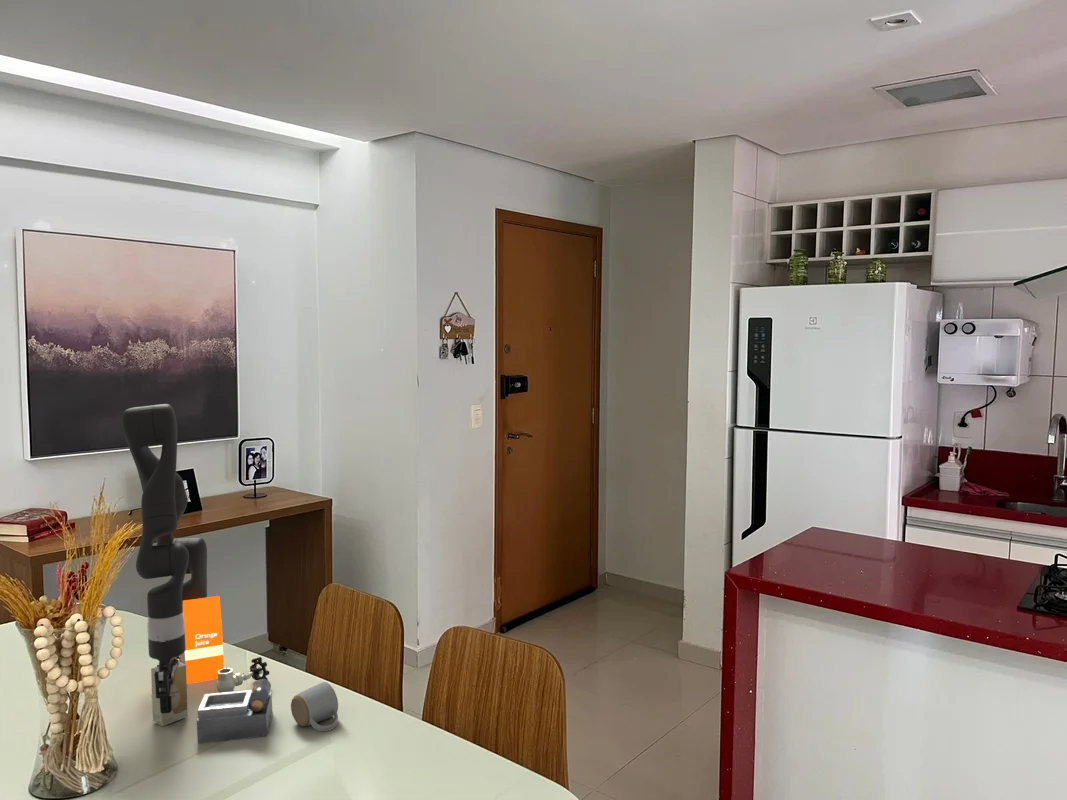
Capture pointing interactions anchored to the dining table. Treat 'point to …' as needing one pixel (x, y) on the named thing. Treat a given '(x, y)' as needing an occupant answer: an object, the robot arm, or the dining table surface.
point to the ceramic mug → (315, 706)
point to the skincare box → (176, 697)
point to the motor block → (235, 714)
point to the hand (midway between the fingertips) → (170, 704)
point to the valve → (240, 676)
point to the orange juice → (203, 639)
